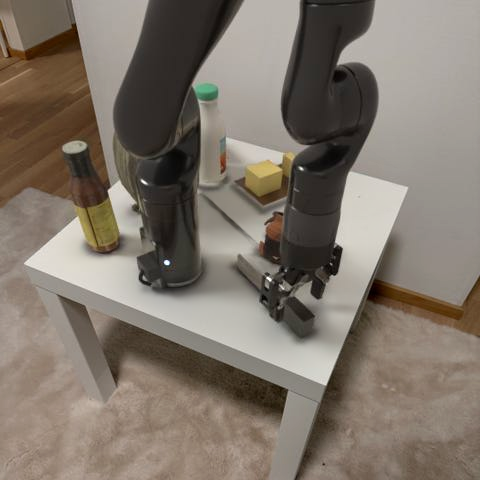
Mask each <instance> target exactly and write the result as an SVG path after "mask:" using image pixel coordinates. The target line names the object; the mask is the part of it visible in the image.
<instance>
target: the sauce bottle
mask: <svg viewBox="0 0 480 480" xmlns="http://www.w3.org/2000/svg"><path fill="white" fill-rule="evenodd" d="M61 151H62V154H63V157H64V159H65V160H66V163H67V165H68V168H69V173H70V175H69V176H70V177H69V180H68V190H69V193H70V196H71V199H72V203H73V206H74V209H75V212H76V215H77V218H78V220H79V222H80V226H81V229H82V232H83V234H84V237H85V240H86V242H87V244H88V246H89V248H90V249H91V250H92V251H95V252H97V253H108V252H112V251H113V250H116V249H117V248H118V246H119V245H120V243H121V237H120V229H119V225H118V222H117V219H116V216H115V211H114V209H113V208H114V207H113V205H112V201H111V197H110V194H109V190H108V187H107V186H106V184H105V183H104V181H103V180H102V179H101V177H100V175H99V174H98V172H97V170H96V169H95V168H94V167H95V166H94V165H93V162H92V159H91V155H90V154H91V153H90V152H91V151H90V148H89V145H88V144H87V142H85V141H82V140H72V141H69V142H67V143H65V144H63V146H62V147H61Z"/></svg>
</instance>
